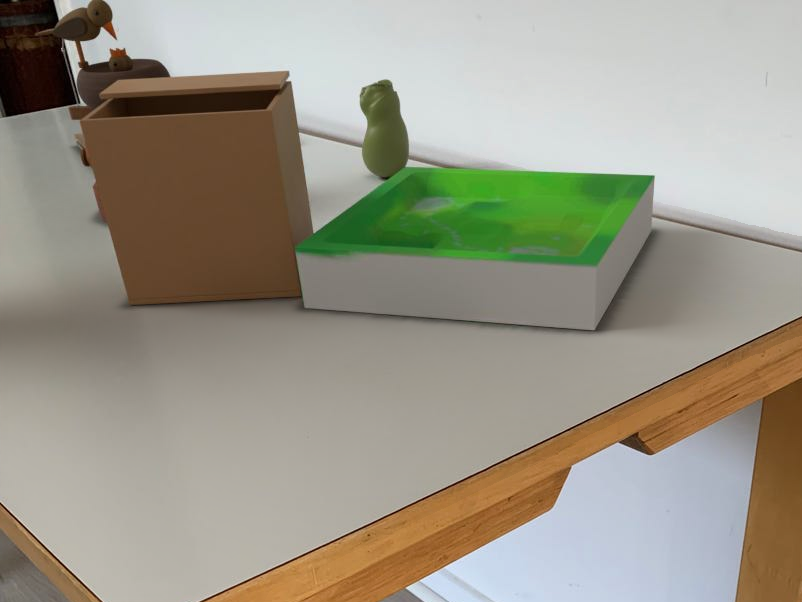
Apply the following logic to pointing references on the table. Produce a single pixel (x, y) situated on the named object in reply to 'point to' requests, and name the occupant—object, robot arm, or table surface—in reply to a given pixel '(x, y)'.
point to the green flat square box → (482, 246)
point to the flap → (196, 84)
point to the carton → (202, 193)
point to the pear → (383, 130)
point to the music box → (98, 64)
